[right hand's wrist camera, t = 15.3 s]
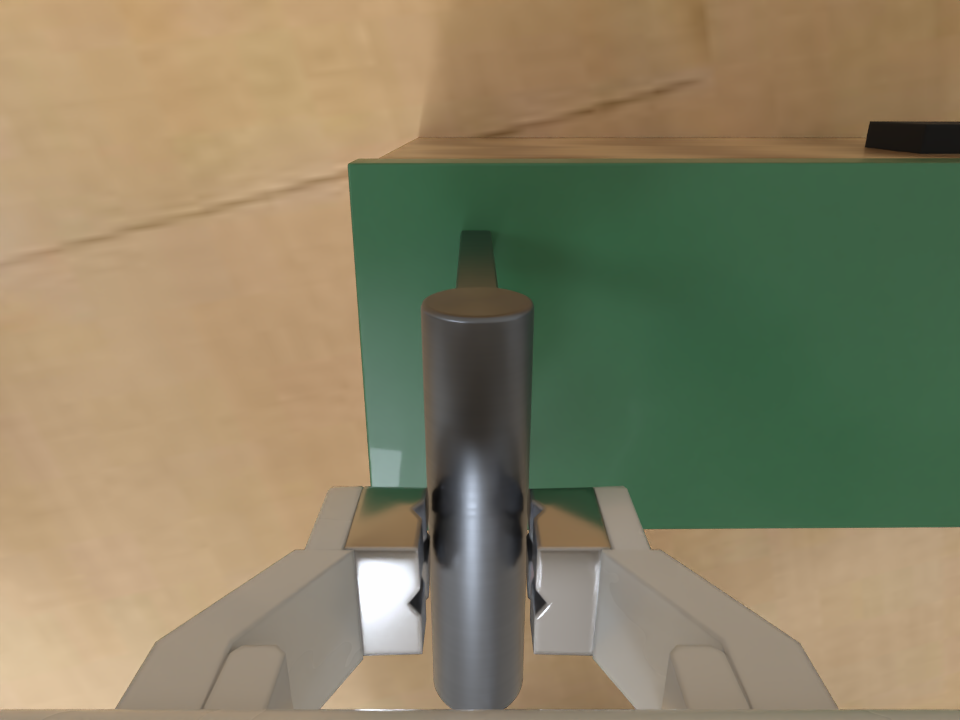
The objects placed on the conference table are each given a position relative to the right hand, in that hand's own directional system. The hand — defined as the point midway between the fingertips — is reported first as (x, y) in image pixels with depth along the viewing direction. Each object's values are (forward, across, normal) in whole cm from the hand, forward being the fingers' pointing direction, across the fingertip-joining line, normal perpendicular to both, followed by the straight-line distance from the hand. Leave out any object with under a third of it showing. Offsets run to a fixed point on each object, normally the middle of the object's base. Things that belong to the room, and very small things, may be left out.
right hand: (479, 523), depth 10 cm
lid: (+8, +6, 0) cm, 10 cm away
